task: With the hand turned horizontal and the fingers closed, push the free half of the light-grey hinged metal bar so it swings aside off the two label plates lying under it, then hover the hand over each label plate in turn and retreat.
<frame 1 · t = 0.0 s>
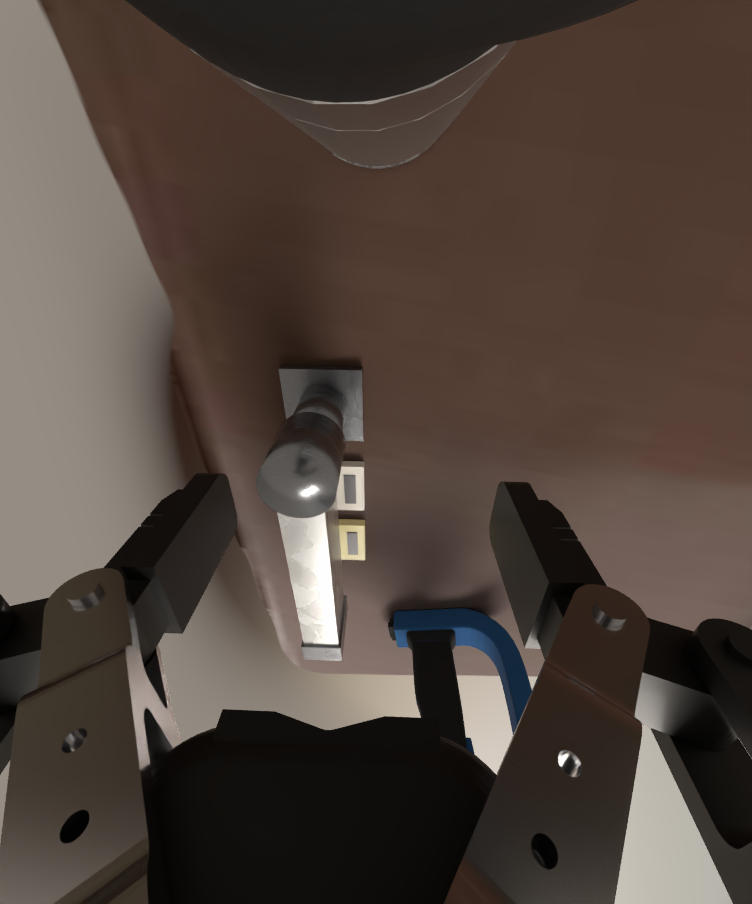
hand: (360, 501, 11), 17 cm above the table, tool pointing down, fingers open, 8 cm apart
label plate B: (345, 536, 37), on the table
gray square plate: (324, 403, 28), on the table
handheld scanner: (440, 617, 45), on the table
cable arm: (316, 554, 27), point 8 cm above the table, hinge at 0.0°
label plate A: (342, 483, 33), on the table
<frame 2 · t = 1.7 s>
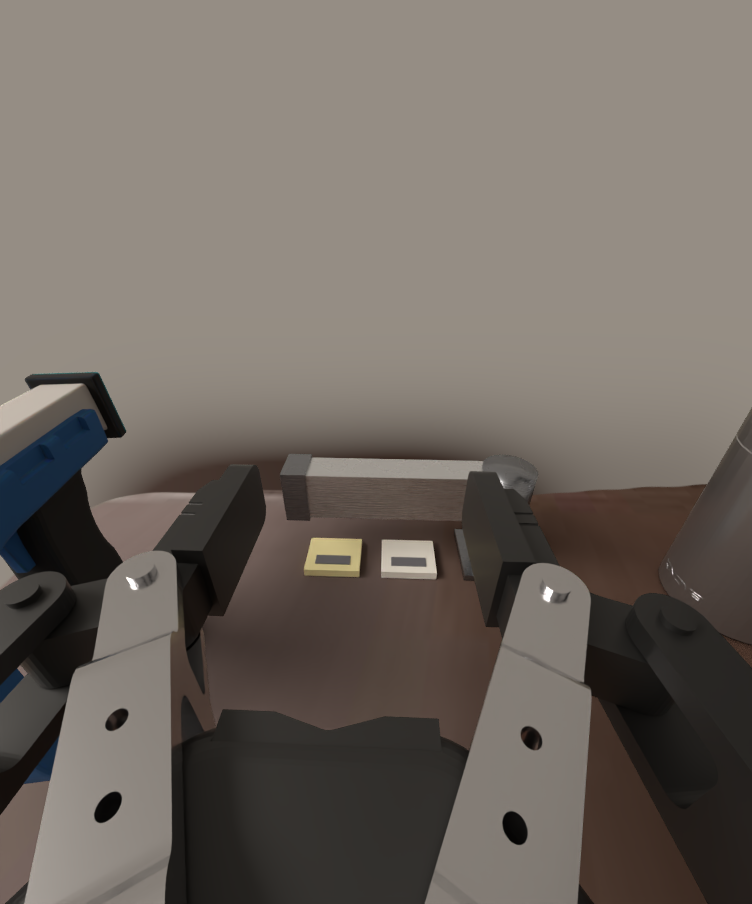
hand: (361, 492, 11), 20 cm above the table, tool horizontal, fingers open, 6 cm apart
label plate B: (334, 559, 35), on the table
gray square plate: (489, 555, 36), on the table
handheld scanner: (120, 674, 26), on the table
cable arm: (408, 489, 32), point 8 cm above the table, hinge at 0.0°
label plate A: (407, 561, 35), on the table
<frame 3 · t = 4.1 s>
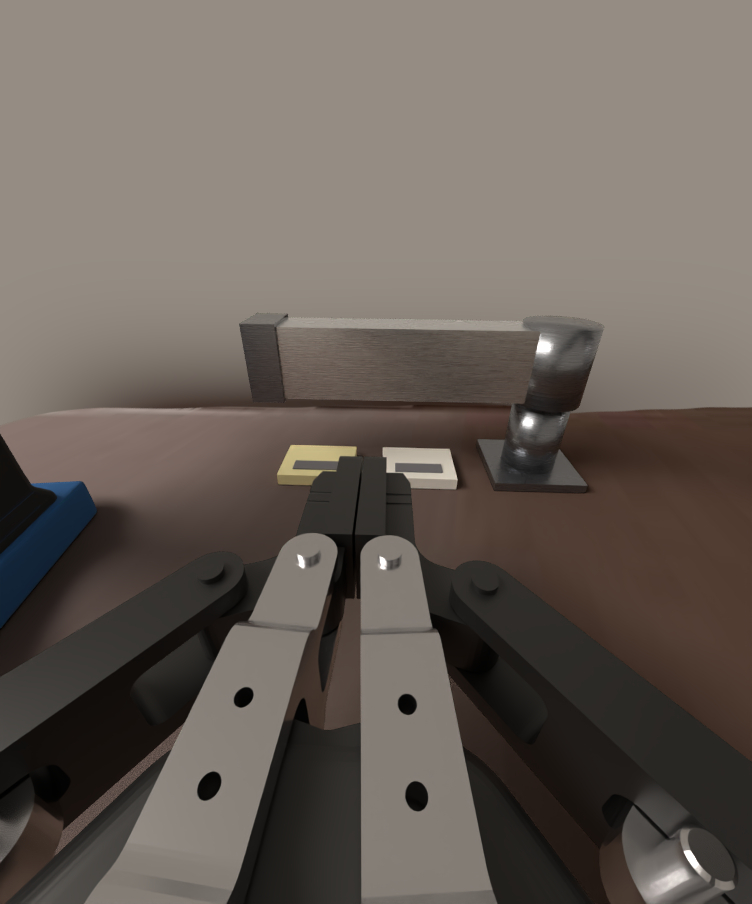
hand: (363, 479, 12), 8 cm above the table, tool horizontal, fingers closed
label plate B: (319, 469, 27), on the table
gray square plate: (525, 467, 27), on the table
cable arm: (419, 360, 23), point 8 cm above the table, hinge at 0.0°
label plate A: (416, 471, 26), on the table
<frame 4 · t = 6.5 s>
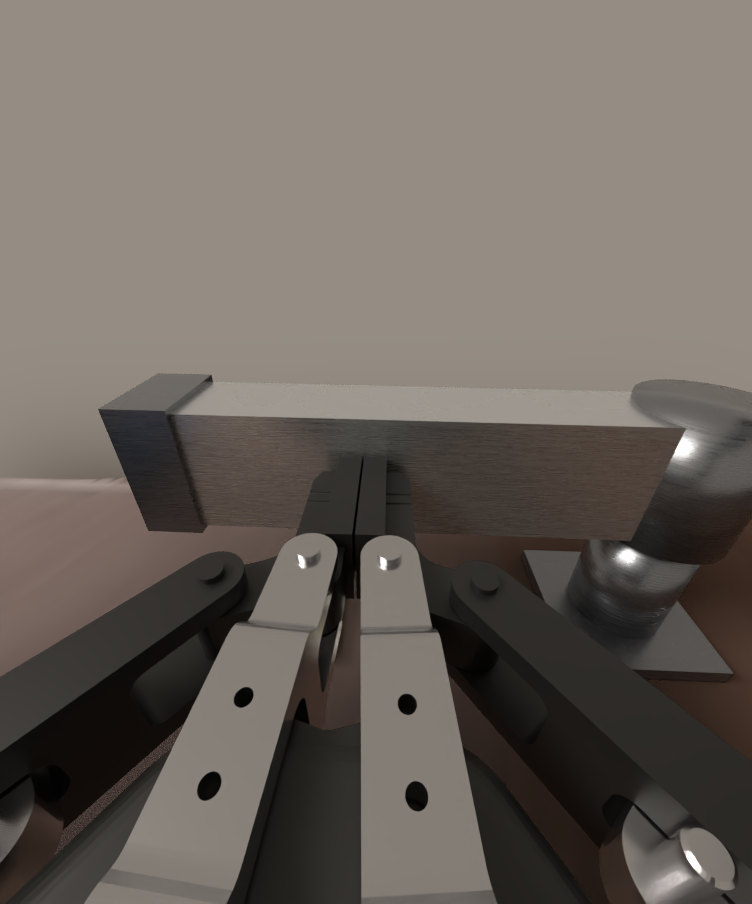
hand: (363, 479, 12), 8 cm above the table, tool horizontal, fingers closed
gray square plate: (607, 610, 17), on the table
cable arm: (441, 460, 13), point 8 cm above the table, hinge at 0.4°, touching gripper
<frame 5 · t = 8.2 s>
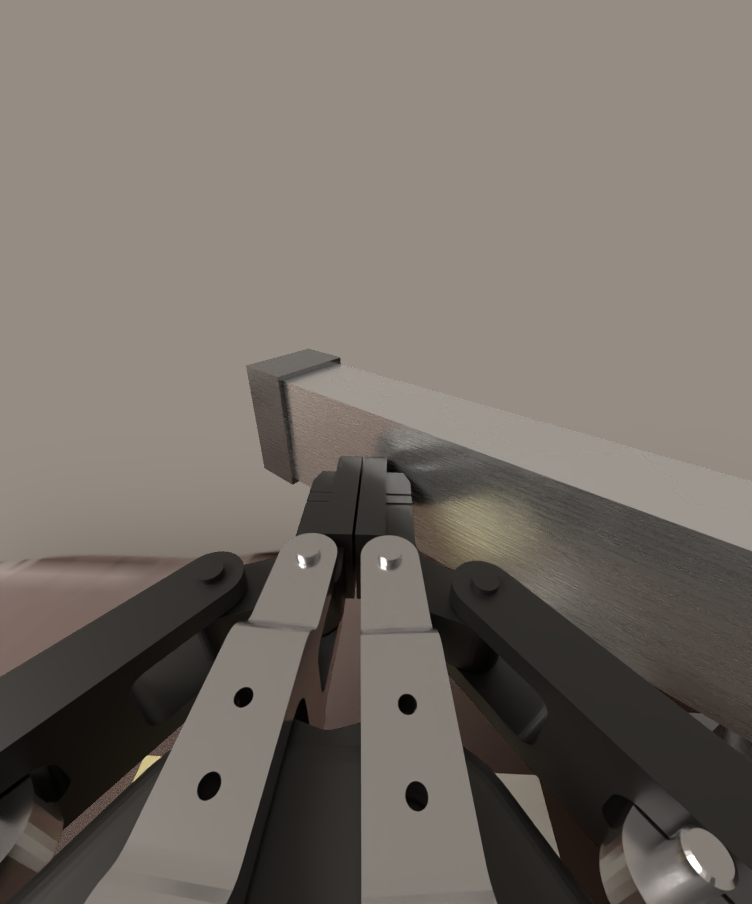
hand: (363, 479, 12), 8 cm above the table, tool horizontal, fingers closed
gray square plate: (740, 841, 10), on the table
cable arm: (509, 504, 11), point 8 cm above the table, hinge at 37.7°, touching gripper
label plate A: (461, 878, 10), on the table
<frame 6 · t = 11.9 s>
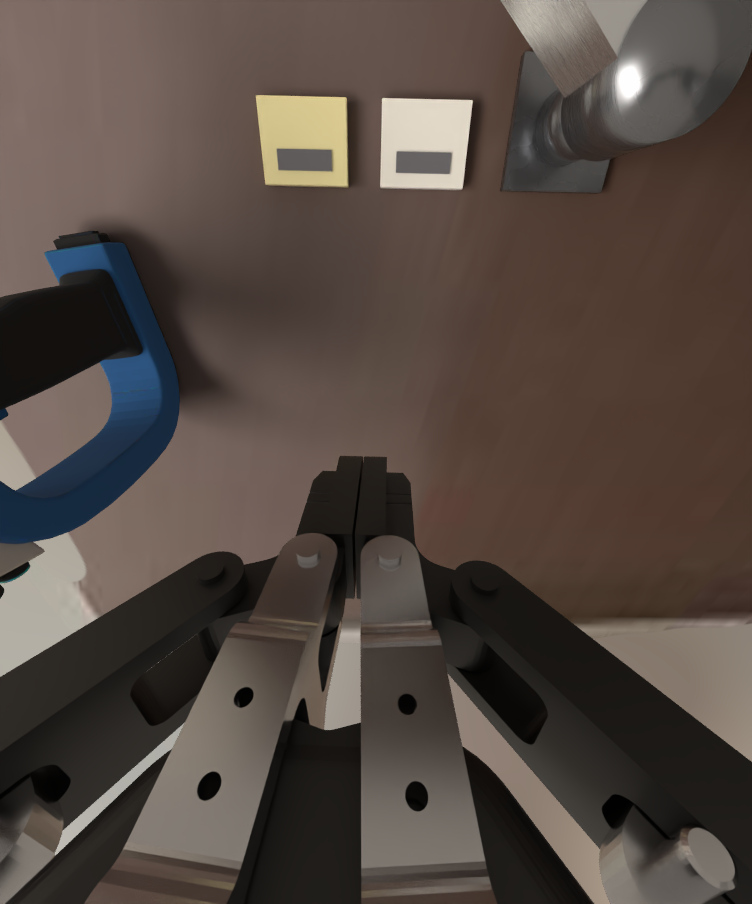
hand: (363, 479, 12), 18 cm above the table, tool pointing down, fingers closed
label plate B: (306, 145, 22), on the table
gray square plate: (561, 129, 21), on the table
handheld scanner: (133, 328, 28), on the table
label plate A: (423, 148, 22), on the table
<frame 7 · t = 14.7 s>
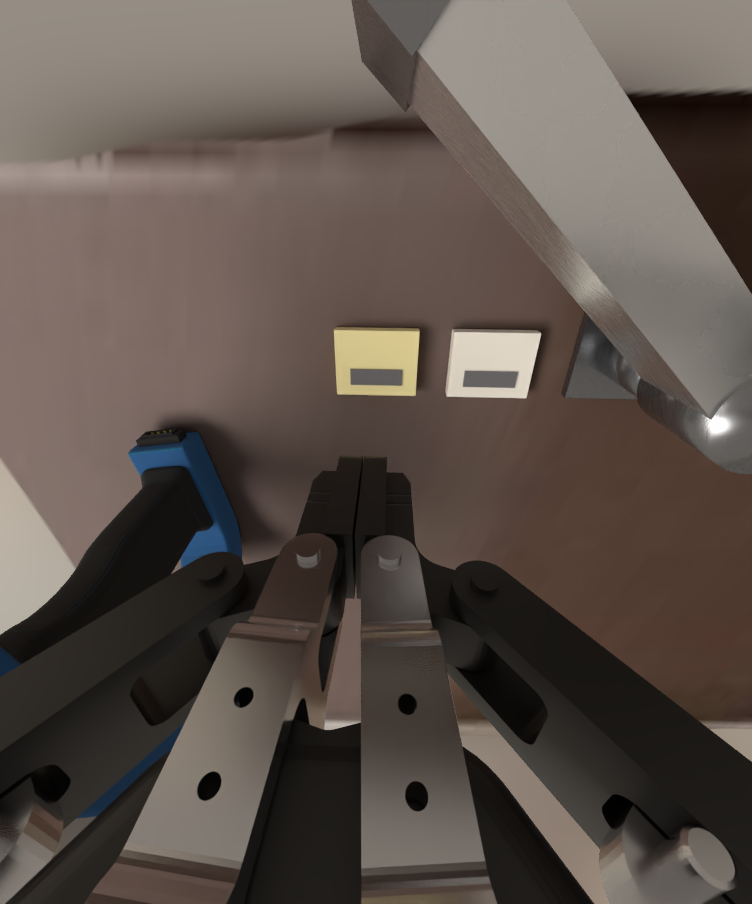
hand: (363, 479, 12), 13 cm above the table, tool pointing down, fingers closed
label plate B: (376, 360, 23), on the table
gray square plate: (624, 348, 22), on the table
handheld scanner: (200, 492, 29), on the table
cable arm: (616, 253, 13), point 8 cm above the table, hinge at 40.1°
label plate A: (488, 362, 23), on the table
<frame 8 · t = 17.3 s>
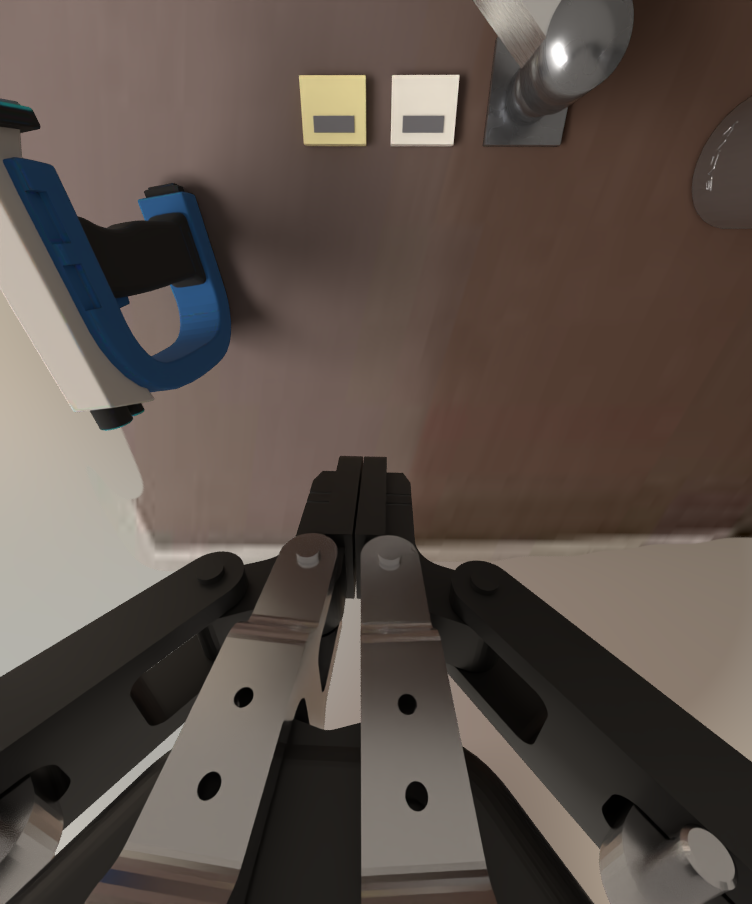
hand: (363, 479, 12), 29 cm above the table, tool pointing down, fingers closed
label plate B: (334, 113, 29), on the table
gray square plate: (527, 96, 28), on the table
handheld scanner: (196, 266, 35), on the table
label plate A: (423, 113, 29), on the table
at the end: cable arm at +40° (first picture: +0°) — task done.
